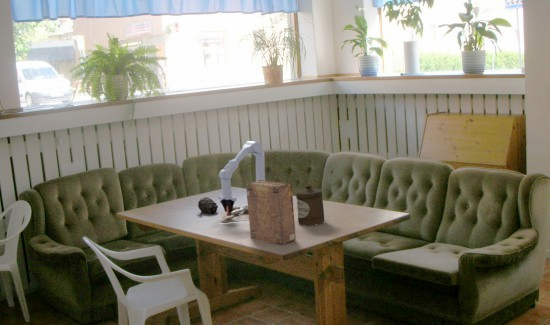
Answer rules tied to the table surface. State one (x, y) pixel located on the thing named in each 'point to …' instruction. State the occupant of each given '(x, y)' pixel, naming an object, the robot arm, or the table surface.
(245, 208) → the lever
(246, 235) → the table surface
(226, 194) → the robot arm
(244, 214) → the base
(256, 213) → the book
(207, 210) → the pine cone
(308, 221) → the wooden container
